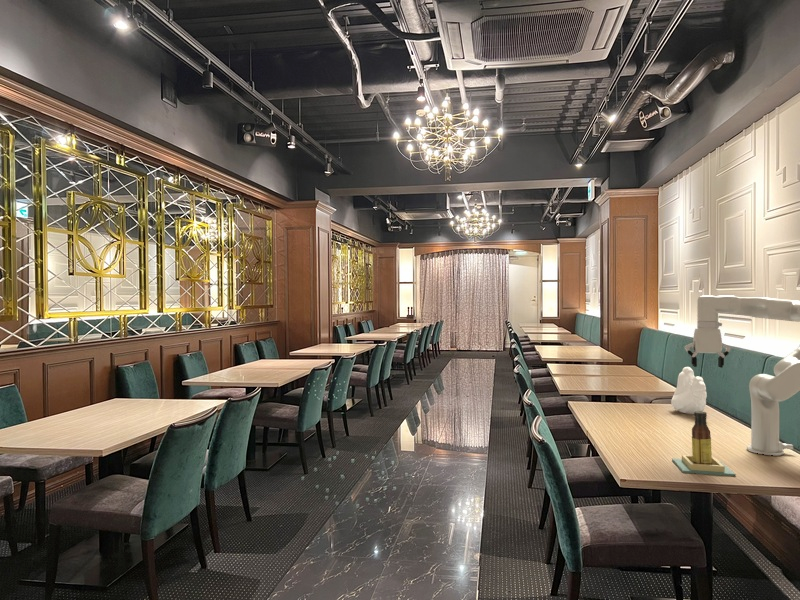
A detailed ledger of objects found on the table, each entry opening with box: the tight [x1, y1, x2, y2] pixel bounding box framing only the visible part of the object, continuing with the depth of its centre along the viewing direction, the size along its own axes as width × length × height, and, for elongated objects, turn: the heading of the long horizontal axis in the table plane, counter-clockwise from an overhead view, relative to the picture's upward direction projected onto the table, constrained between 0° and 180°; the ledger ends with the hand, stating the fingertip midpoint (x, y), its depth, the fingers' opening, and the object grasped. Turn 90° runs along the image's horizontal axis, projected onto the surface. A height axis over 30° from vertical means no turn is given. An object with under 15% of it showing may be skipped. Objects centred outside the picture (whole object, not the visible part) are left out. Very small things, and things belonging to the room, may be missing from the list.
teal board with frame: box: [671, 454, 737, 477], centre depth 201 cm, size 17×15×3 cm
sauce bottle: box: [691, 411, 713, 465], centre depth 201 cm, size 6×6×20 cm
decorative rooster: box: [670, 366, 708, 415], centre depth 294 cm, size 25×16×25 cm, turn 166°
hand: (707, 366), depth 225 cm, fingers open, 9 cm apart
